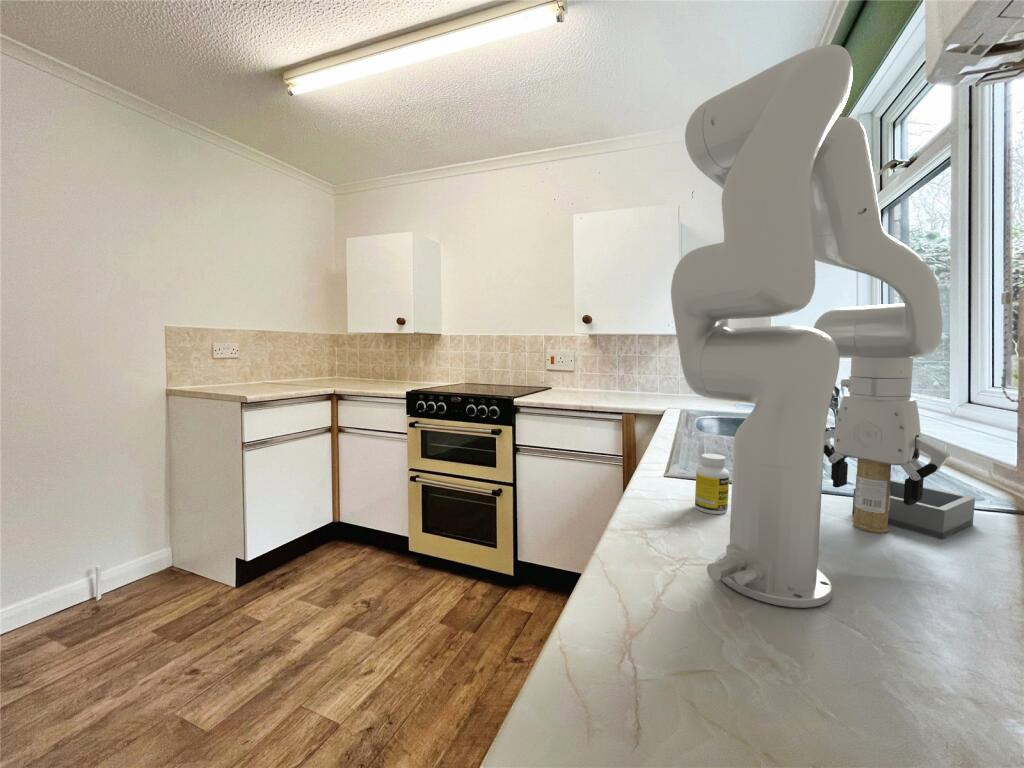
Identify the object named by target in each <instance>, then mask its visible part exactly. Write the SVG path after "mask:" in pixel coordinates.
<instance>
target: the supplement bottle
mask: <svg viewBox="0 0 1024 768" xmlns="http://www.w3.org/2000/svg"><path fill="white" fill-rule="evenodd" d="M726 457H727V456H724V455H723V454H718V453H703V454H701V457H700V463H701V465H699V466H698V467H696V473H695V493H694V494H695V495H694V507H695V508H696V509H697V510H698V511H700V512H703V513H705V514H711V515H722V514H726V512H728V509H729V508H728V505H729V492H730V491H729V489H730V472H729V470H728V469H726V468H725V466H726V465H727V464H726V463H727V461H726V460H727V458H726Z"/></svg>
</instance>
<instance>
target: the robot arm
mask: <svg viewBox="0 0 1024 768" xmlns="http://www.w3.org/2000/svg"><path fill="white" fill-rule="evenodd" d="M852 83H853V63H852V57H851V55H850V53H849V52H848V50H847V49H846V48H845V47H843V46H842V45H838V44H824V45H820V46H819V45H818V46H816V47H812V48H810V49H806V50H804V51H803V52H800V53H799V52H798V54H795V55H793V56H791V57H789V58H787V59H785V60H782V61H780V62H778V63H776V64H775V65H773V66H771V67H769V68H766V69H764V70H762V71H761V72H758V73H757V74H755V75H754V76H751V77H750V78H748V79H746V80H744V81H743V82H741V83H738V84H736V85H734V86H732V87H730V88H729V89H726V90H725V91H722V92H720V93H719V94H716V95H714V96H713V97H711V98H709V99H708V100H705V101H704V102H703V103H701V104H700V105H699V106H697V107H696V109H695V110H694V111H693V112H692V113H691V115H690V117H689V119H688V121H687V122H686V127H685V133H684V140H685V141H684V142H685V147H686V151H687V153H688V156H689V158H690V160H691V161H692V163H693V164H694V166H695V167H696V168H697V169H698V170H699V171H700V172H701V173H702V174H703V175H704V176H705V177H707V178H708V179H710V180H711V181H712V182H714V183H715V184H716V185H717V186H719V187H720V188H721V189H722V194H721V213H722V223H723V224H722V225H723V242H718V243H713V244H709V245H705V246H700V247H697V248H695V249H692V250H690V251H689V252H687V253H685V255H683V256H682V258H681V259H680V260H679V261H678V263H677V264H676V266H675V269H674V272H673V274H672V279H671V284H670V285H671V286H670V298H671V299H670V301H671V308H672V313H673V314H672V315H673V322H674V326H675V327H674V328H675V333H676V338H677V340H676V341H677V345H678V351H679V358H680V364H681V368H682V373H683V377H684V380H685V382H686V383H687V386H688V387H689V388H690V389H691V390H692V392H693V393H695V394H697V395H698V396H701V397H703V398H708V399H713V400H714V399H715V400H722V401H723V400H724V401H731V402H732V401H733V402H741V403H746V404H753V405H754V408H752V411H751V412H750V413H749V414H748V415H747V417H746V418H745V419H744V420H743V421H742V423H741V424H740V425H739V426H738V428H737V430H736V432H735V435H734V438H733V445H732V472H731V473H732V475H731V498H730V502H731V503H730V526H729V544H727V545H726V550H725V551H726V552H723V553H721V554H720V555H718V556H717V557H716V559H715V561H714V562H711V563H708V565H707V566H706V572H707V574H708V576H709V578H710V579H712V580H713V581H722V582H723V583H724V584H725V585H727V587H730V588H731V589H732V590H734V591H736V592H738V593H740V594H742V595H744V596H746V597H749V598H751V599H753V600H756V601H759V602H763V603H766V604H770V605H775V606H779V607H787V608H802V609H804V608H805V609H807V608H815V607H819V606H822V605H824V604H827V603H828V602H829V601H830V600H831V598H832V594H833V585H832V583H831V580H830V579H829V578H828V577H827V576H826V575H825V574H824V573H823V572H821V570H819V569H818V561H819V560H818V559H819V544H820V543H819V541H820V528H821V527H820V526H821V511H822V508H821V507H822V495H823V494H822V491H823V490H822V489H823V472H824V455H825V456H826V457H827V460H828V462H829V463H830V464H831V468H830V469H831V474H830V479H831V481H832V487H833V488H840V487H844V486H846V485H847V483H848V470H849V465H848V464H849V463H848V462H847V461H845V460H846V459H847V458H853V459H857V460H858V459H863V460H868V461H873V462H878V463H884V464H890V465H891V466H900V467H901V468H902V470H903V471H904V472H905V473H906V475H907V476H908V477H907V478H905V480H904V483H905V486H904V503H905V505H909V506H910V505H912V504H915V503H917V502H918V501H919V500H921V499H922V494H923V487H924V479H925V478H927V477H928V476H929V477H930V476H931V475H932V474H935V473H936V472H938V471H940V469H941V468H942V467H943V466H944V464H945V463H946V462H947V461H948V460H949V459H950V457H951V455H950V453H948V452H947V451H945V450H943V449H941V448H939V447H938V446H936V445H934V444H932V443H930V442H929V441H927V440H925V439H923V438H921V437H922V436H921V422H920V414H919V410H918V409H919V408H918V403H917V400H916V398H912V397H911V396H912V384H913V383H912V381H913V368H914V367H913V365H914V359H918V358H922V357H923V358H924V357H926V356H928V355H930V354H931V353H933V352H934V351H935V350H936V349H937V348H938V346H939V345H940V342H941V340H942V335H943V313H942V307H941V300H940V292H939V286H938V285H939V284H938V282H937V281H938V280H936V277H935V274H934V273H933V271H932V269H931V268H930V267H929V266H928V264H927V263H926V261H924V259H922V258H921V257H920V255H918V254H917V252H916V251H914V250H913V249H911V248H910V246H909V247H908V245H906V244H904V243H903V242H901V241H899V240H898V239H896V238H895V237H893V236H891V235H890V234H888V233H887V232H886V231H885V230H884V227H883V224H882V220H881V219H882V218H881V212H880V207H879V201H878V194H877V190H876V181H875V175H874V172H873V165H872V160H871V159H872V158H871V153H870V147H869V142H868V136H867V133H866V129H865V127H864V126H863V125H862V122H860V121H859V120H858V119H856V118H854V117H849V116H847V117H845V116H840V114H842V111H843V109H844V108H845V106H846V103H847V101H848V98H849V96H850V91H851V87H852ZM839 116H840V117H839ZM816 261H817V262H820V263H822V264H826V265H831V266H834V267H838V268H842V269H846V270H850V271H853V272H857V273H860V274H864V275H867V276H869V277H873V278H874V279H875V278H876V279H877V280H879V281H881V282H883V283H885V284H886V285H888V286H890V287H891V288H892V289H893V290H894V291H895V292H896V293H897V294H898V296H899V297H900V299H901V300H902V303H892V304H876V305H875V304H874V305H864V306H850V307H849V306H847V307H838V308H834V309H830V310H828V311H826V312H824V313H823V314H822V315H821V316H820V317H819V318H817V320H816V321H815V323H814V326H813V327H807V326H803V325H770V326H769V325H767V326H751V327H729V320H741V319H743V320H744V319H758V318H759V319H760V318H761V319H762V318H773V317H780V316H787V315H791V314H795V313H797V312H799V311H801V310H803V309H805V307H807V305H808V304H810V302H811V300H812V299H813V296H814V293H815V289H816ZM842 358H843V359H850V375H849V376H848V378H842V379H841V380H840V386H841V387H842V388H846V389H847V391H848V394H843V395H842V397H841V401H840V405H839V408H838V413H837V416H836V423H835V426H834V427H835V428H833V429H829V430H826V428H827V423H828V417H829V416H828V414H829V411H830V406H831V405H830V404H831V401H832V399H833V398H832V397H833V394H834V390H835V386H836V382H837V380H838V375H839V371H840V359H842ZM832 438H833V445H832V444H831V439H832ZM921 452H922V453H924V454H927V455H928V456H929V457H930V460H929V462H928V463H927V464H925V465H922V464H921V463H920V462H919V458H920V456H921Z"/></svg>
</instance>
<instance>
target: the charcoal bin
mask: <svg viewBox="0 0 1024 768" xmlns="http://www.w3.org/2000/svg"><path fill="white" fill-rule="evenodd" d="M904 486H905V481H904V482H903V481H899V480H894V479H890V506H889V511H888V525H890V526H894V527H897V528H901V529H904V530H908V531H911V532H914V533H918V534H921V535H925V536H929V537H933V538H936V539H939V540H945V539H947V538H948V537H950V536H952V535H954V534H957V533H959V532H961V531H963V530H964V529H966V528H969V527H971V526H973V525H974V515H975V504H976V497H975V496H969V495H965V494H960V493H955V492H950V491H946V490H941V489H937V488H932V487H928V486H927V487H926V486H923V494H922V499H921V500H919V501H918V502H917V503H915V504H912V505H910V506H909V505H905V503H904ZM854 504H855V488H853V498H852V513H851V514H852V515H854V512H855V505H854Z"/></svg>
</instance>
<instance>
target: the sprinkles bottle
mask: <svg viewBox="0 0 1024 768" xmlns="http://www.w3.org/2000/svg"><path fill="white" fill-rule="evenodd" d="M856 467H857V468H856V474H855V488H854V489H855V504H854V505H855V512H854V514H853V515H854V516H853V520H852V524H853V526H855V527H856V528H857V529H859V530H861V531H865V532H870V533H876V534H882V533H887V532H888V531H889V524H888V511H889V506H890V480H892V479H891V478H892V477H891V475H892V471H891V470H892V465H890V464H884V463H878V462H873V461H868V460H863V459H857V463H856Z"/></svg>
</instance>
